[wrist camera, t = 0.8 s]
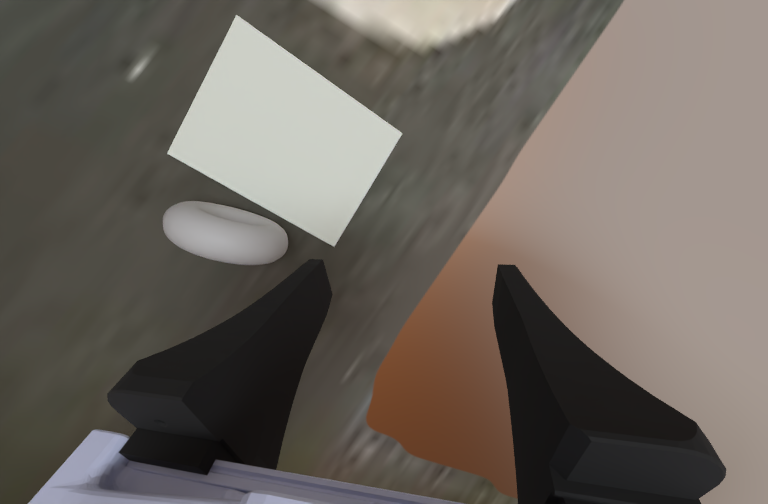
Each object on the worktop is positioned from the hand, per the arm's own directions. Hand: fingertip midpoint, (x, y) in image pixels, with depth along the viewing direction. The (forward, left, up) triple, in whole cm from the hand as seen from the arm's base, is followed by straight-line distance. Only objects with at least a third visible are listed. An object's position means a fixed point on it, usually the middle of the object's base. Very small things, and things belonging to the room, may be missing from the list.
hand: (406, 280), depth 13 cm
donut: (-7, +10, -22) cm, 25 cm away
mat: (+3, +10, -22) cm, 24 cm away
